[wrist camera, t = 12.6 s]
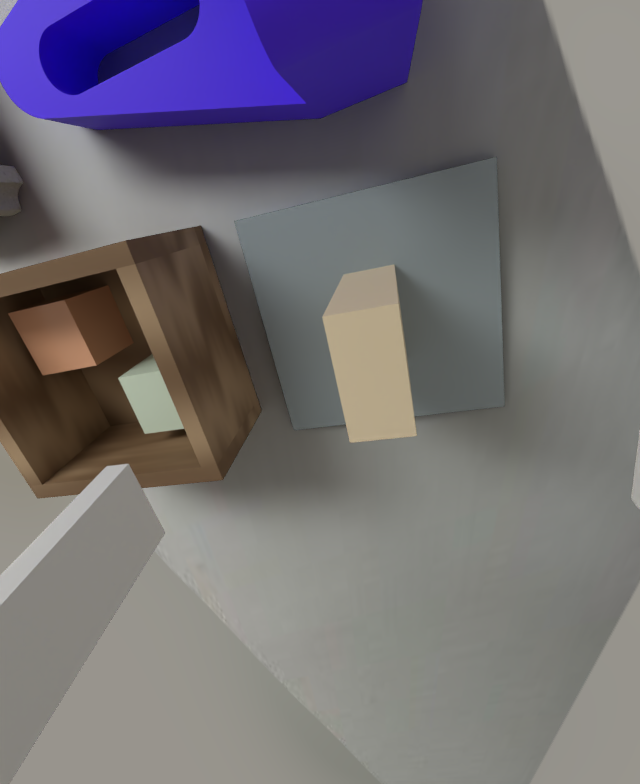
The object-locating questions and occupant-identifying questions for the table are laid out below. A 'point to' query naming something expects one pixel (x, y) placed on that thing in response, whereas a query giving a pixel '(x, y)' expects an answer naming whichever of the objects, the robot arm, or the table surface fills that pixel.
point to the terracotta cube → (72, 330)
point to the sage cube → (150, 397)
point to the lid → (384, 301)
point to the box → (101, 384)
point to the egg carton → (9, 191)
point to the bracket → (205, 59)
